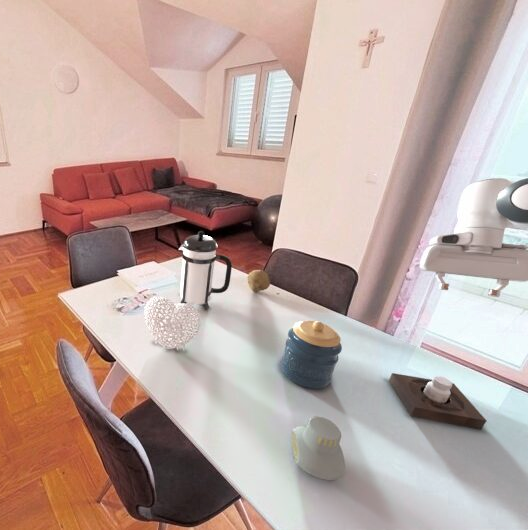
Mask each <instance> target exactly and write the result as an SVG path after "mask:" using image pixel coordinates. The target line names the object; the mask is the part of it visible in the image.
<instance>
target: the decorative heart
mask: <svg viewBox="0 0 528 530" xmlns="http://www.w3.org/2000/svg"><path fill="white" fill-rule="evenodd" d="M143 311H144V312H143V315H144V320H145V325H146V327H147V328H148V330H149V332H150V333H151V335H152V337H153V338H154V344H155V345H156V344H157V343H158V344H160V346H162V347H163V348H164V349H166V350H172V349H176V351H179V350H180V347H182V352H185V351H186V345H187V344H188V343H190V342H191V341H192V340H193V339H194V338H195V337H196V336H197V335H198V333H199V330H200V328H201V316H200V314H199V311H198V310H197V309H196V308H195V307H194V306H192V304H189V303H186V304H184V303H180V302H179V303H178V302H176V303H175V302H173V301H172V300H170V299H169V298H167V297H163V296H153V297H152V298H150V299H149V300H148V301H147V302H146V303H145V306H144V310H143Z"/></svg>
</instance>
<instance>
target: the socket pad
mask: <svg viewBox="0 0 528 530" xmlns="http://www.w3.org/2000/svg"><path fill="white" fill-rule="evenodd" d="M428 382H432V378H431V379H430V378H424V377H419V376H412V375H407V374H400V373H395V372H392V373H391V375H390V376H389V379H388V383H389V384H390V386H391V388H392V389H393V391H394V392H395V394H396V395H397V397H398V398H399V400H400V402H401V403H402V405H403V406H404V408H405V409H406V411H407V413H408V414H409V415H410V417H415V418H418V419H424V420H429V421H435V422H440V423H444V424H451V425H455V426H461V427H465V428H471V429H474V430H475V429H476V430H482V429H483V428H484V426H485V425H486V423H487V421H488V420H487V419H486V418H485V417H484V416H483V415H482V413H481V412H480V411H479V410H478V409H477V408H476V407H475V406H474V405H473V403H472V402H471V401H470V400H469V399H468V398H467V396H466V395H465V394H464V393H463V392H462V391H461V390H460V388H459V387H458V386H457V385H456V384H455V383H453V382H452V387H451V389H450V392H451V394H450V396H449V398H448V399H447V401H446V403H445V404H442V403H438V402H435V401H433V400H431V399H429V398H427V397H426V396H425V395H424V394H423V391H424V389H425V387H426V385H427V383H428Z"/></svg>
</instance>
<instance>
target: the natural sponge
mask: <svg viewBox="0 0 528 530" xmlns="http://www.w3.org/2000/svg"><path fill="white" fill-rule="evenodd" d="M247 284H248V287H249V288H250V290H251V292H252V293H253V292H254V293H259V292H261V291H265V290H267V289H269V287H270V286H271V280H270V277H269V275H268V274H267V273H266V271H264V270H262V269H254V270H252V271H250V272H249V273H248V274H247Z"/></svg>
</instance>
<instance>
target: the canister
mask: <svg viewBox="0 0 528 530" xmlns="http://www.w3.org/2000/svg"><path fill="white" fill-rule="evenodd" d="M287 337H288V338H287V339H286V341H285V347H284V350H283V354H282V356H281V360H280V369H281V371H282V373H283V375H284V376H285V377H286V378H287V379H289V380H290V381H291V382H293V383H294V384H296V385H298V386H300V387H304V388H307V389H311V390H320V389H324V388H326V387H328V385H329V384H331V382H332V379H333V375H334V371H335V368H336V365H337V363H338V361H339V354H341V353H342V350H343V346H342V343H341V336H340V334H339V333H338V332H337V331H336V330H334V329H333V328H332V327H330V326H329V325H328V324H325V323H323V322H322V321H320V320H301V321H297V322H295V323H294V324H293V326H292V328H290V329H289V330H288V331H287Z"/></svg>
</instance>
